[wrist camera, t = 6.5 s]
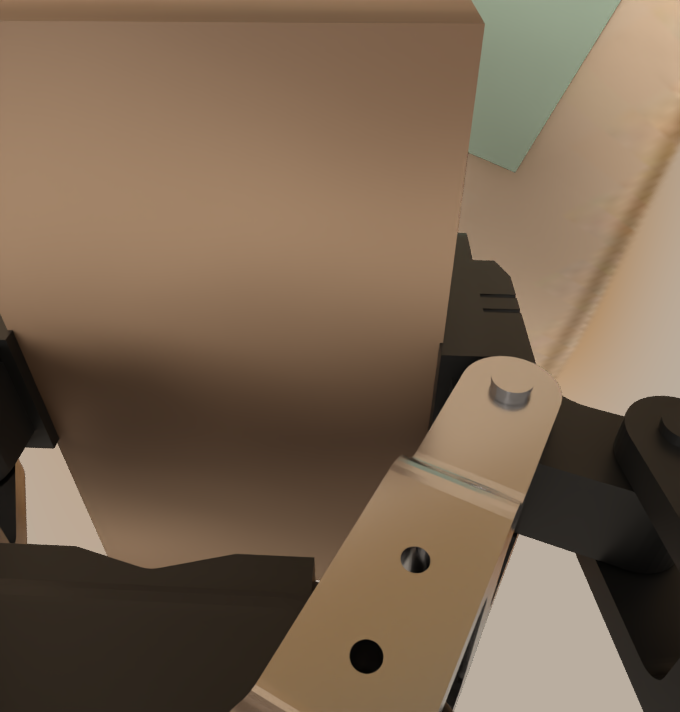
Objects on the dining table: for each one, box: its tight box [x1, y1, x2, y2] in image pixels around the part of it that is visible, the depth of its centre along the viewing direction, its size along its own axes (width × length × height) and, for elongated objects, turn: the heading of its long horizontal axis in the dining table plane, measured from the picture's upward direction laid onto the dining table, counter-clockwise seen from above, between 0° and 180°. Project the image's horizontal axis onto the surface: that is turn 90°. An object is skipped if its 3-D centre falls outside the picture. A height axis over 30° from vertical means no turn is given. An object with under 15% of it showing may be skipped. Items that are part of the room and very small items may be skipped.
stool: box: [0, 0, 485, 580], centre depth 12 cm, size 10×6×8 cm, turn 0°
